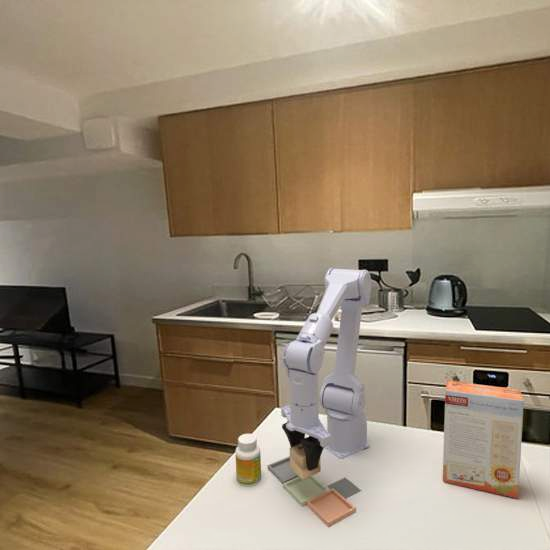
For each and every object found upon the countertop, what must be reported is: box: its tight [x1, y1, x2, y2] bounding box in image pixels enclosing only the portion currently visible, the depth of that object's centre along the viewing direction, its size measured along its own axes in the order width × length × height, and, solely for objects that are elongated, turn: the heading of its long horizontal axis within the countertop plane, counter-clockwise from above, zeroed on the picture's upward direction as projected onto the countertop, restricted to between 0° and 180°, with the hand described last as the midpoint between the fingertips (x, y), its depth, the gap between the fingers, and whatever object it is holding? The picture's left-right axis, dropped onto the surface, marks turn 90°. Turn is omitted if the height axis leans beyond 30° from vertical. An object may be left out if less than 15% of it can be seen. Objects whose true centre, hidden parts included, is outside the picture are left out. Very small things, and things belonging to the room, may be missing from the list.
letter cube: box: [289, 444, 322, 479], centre depth 82 cm, size 4×4×4 cm
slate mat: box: [326, 477, 362, 500], centre depth 83 cm, size 5×5×1 cm
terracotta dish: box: [305, 488, 357, 528], centre depth 78 cm, size 7×7×1 cm
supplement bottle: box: [235, 433, 262, 487], centre depth 87 cm, size 5×5×10 cm
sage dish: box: [282, 475, 330, 507], centre depth 83 cm, size 7×7×1 cm
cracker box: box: [442, 379, 525, 499], centre depth 83 cm, size 14×6×21 cm, turn 65°
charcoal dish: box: [266, 455, 299, 485], centre depth 89 cm, size 7×7×1 cm
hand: (305, 461), depth 82 cm, fingers closed on letter cube, 4 cm apart
